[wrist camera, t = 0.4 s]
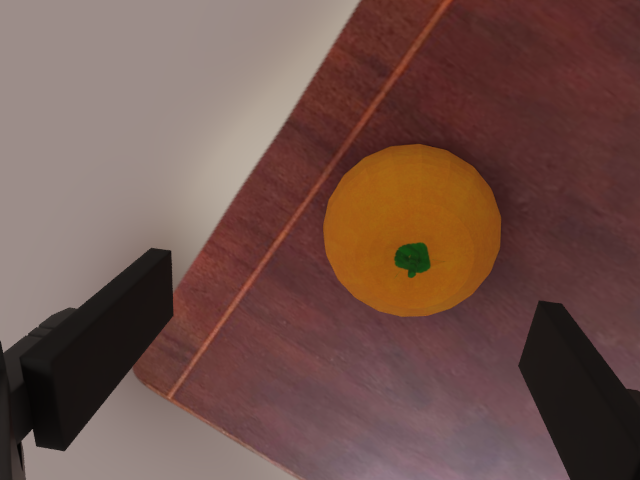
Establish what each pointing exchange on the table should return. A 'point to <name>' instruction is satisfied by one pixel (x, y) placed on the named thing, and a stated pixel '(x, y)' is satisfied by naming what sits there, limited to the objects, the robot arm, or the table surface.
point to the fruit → (412, 230)
